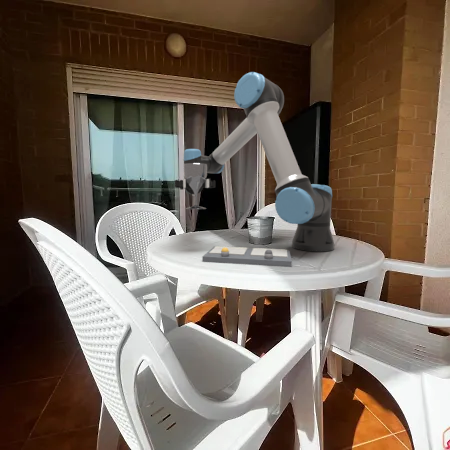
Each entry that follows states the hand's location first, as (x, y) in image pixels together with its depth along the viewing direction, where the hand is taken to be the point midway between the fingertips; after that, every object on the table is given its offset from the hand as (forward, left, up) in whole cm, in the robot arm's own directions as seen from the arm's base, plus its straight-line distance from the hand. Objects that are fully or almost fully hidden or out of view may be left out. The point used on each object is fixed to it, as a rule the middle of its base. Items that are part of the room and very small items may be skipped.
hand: (196, 183), depth 87 cm
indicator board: (-18, +1, -24) cm, 29 cm away
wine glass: (+2, -5, -9) cm, 10 cm away
